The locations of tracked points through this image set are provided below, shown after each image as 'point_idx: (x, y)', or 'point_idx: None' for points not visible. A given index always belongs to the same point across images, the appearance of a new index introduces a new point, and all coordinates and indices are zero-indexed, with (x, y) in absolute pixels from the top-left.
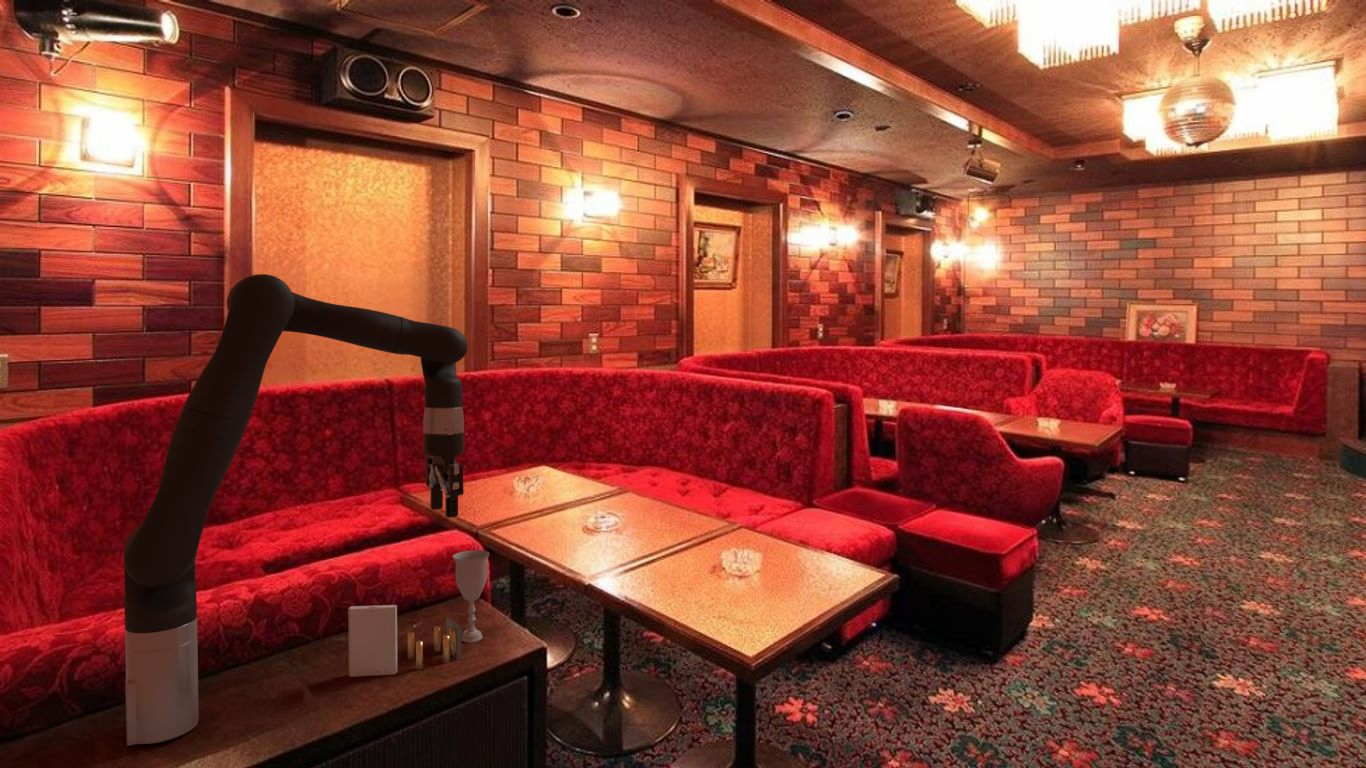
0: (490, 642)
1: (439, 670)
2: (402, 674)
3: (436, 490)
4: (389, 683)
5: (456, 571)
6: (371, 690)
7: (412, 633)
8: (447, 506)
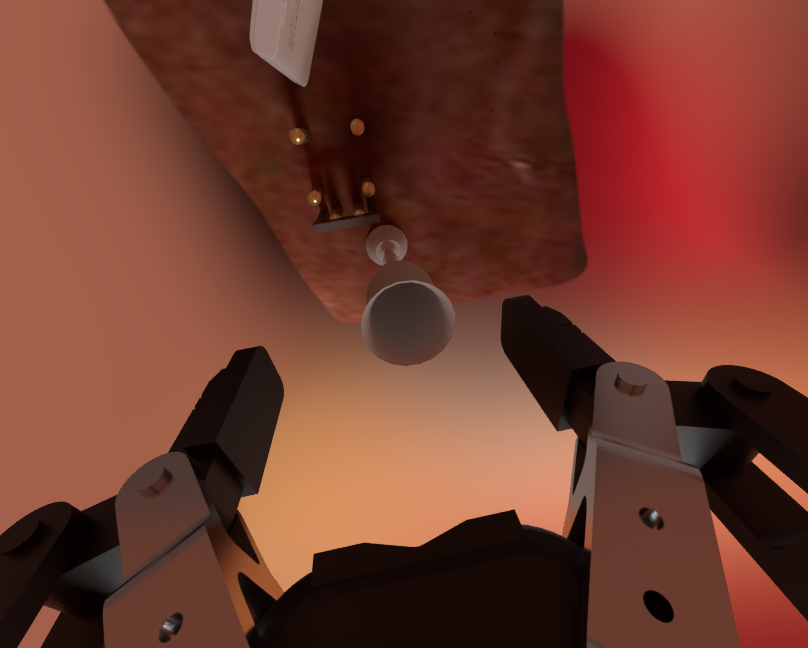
0: (374, 272)
1: (284, 171)
2: (286, 95)
3: (574, 402)
4: (246, 57)
5: (398, 271)
6: (217, 6)
7: (354, 130)
8: (213, 399)
